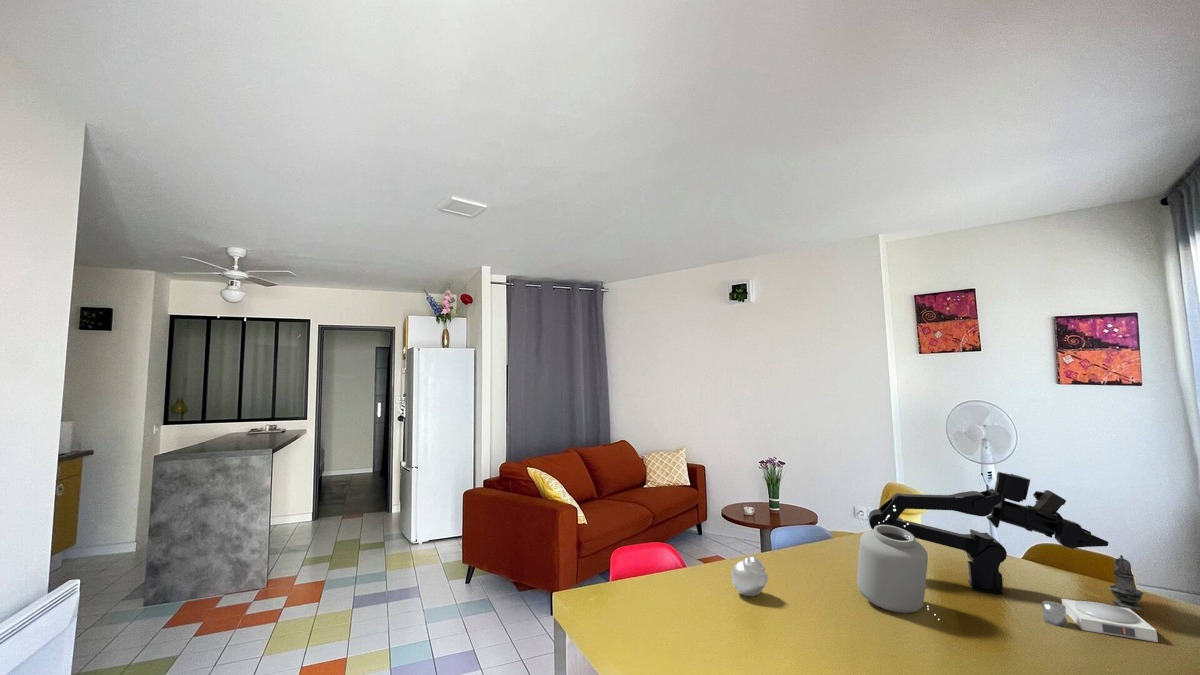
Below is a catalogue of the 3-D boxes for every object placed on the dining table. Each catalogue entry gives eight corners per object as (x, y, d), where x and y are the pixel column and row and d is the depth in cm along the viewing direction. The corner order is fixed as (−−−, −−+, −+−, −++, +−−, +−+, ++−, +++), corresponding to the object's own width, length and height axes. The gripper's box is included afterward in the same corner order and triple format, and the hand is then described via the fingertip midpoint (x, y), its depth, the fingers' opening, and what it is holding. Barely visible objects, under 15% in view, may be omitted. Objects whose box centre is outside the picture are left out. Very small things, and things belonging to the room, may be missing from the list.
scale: (1083, 631, 109) (1081, 616, 109) (1062, 608, 120) (1061, 596, 120) (1159, 643, 103) (1157, 628, 103) (1130, 618, 114) (1128, 605, 114)
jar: (955, 621, 114) (945, 511, 117) (900, 627, 111) (892, 514, 114) (893, 589, 132) (886, 495, 135) (845, 594, 129) (838, 497, 132)
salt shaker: (1152, 611, 118) (1145, 559, 119) (1123, 609, 119) (1117, 558, 121) (1131, 601, 124) (1125, 551, 125) (1104, 599, 125) (1098, 550, 126)
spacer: (1047, 624, 112) (1045, 606, 112) (1041, 617, 115) (1039, 599, 116) (1070, 628, 110) (1068, 609, 111) (1063, 620, 114) (1061, 602, 114)
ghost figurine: (748, 605, 123) (747, 564, 125) (725, 591, 132) (723, 553, 133) (776, 599, 127) (774, 559, 128) (751, 586, 136) (749, 548, 137)
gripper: (1041, 493, 122) (1125, 516, 115) (1017, 481, 139) (1089, 500, 132) (1031, 536, 122) (1114, 562, 115) (1008, 519, 139) (1080, 540, 132)
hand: (1099, 538), depth 123 cm, fingers open, 9 cm apart
